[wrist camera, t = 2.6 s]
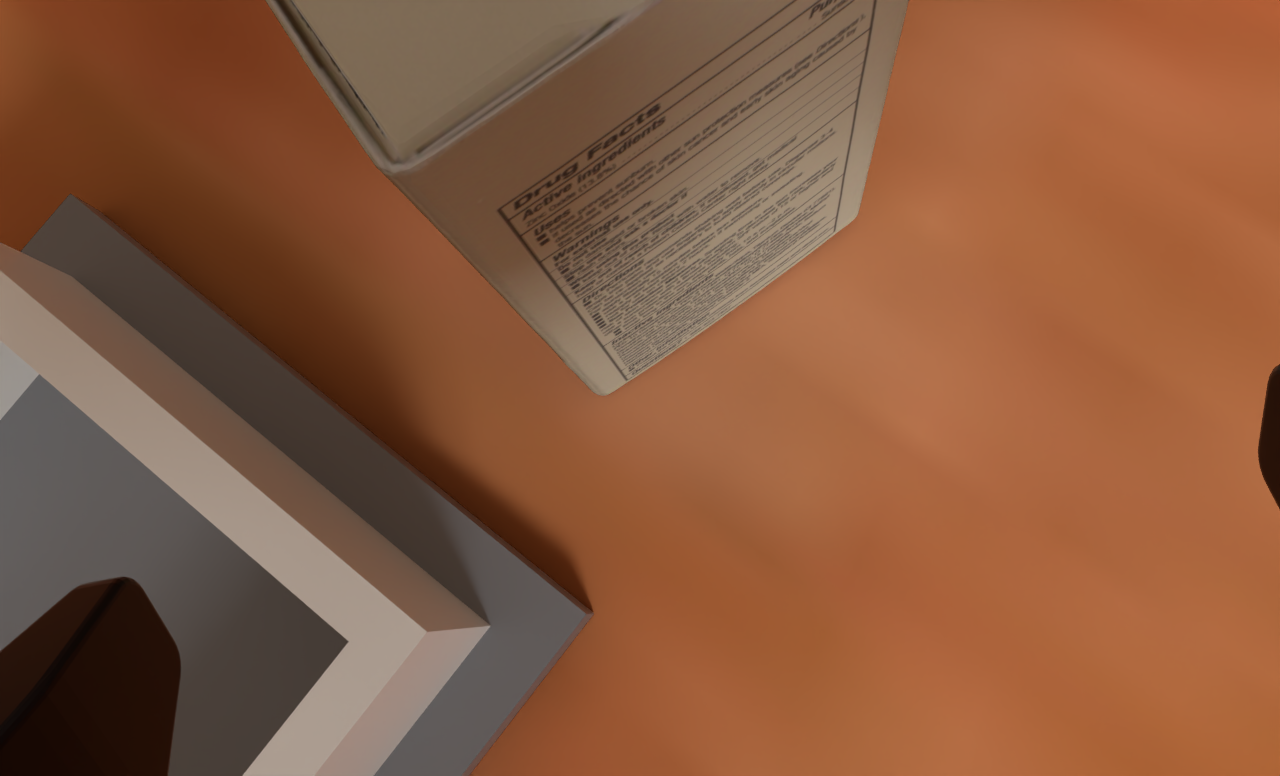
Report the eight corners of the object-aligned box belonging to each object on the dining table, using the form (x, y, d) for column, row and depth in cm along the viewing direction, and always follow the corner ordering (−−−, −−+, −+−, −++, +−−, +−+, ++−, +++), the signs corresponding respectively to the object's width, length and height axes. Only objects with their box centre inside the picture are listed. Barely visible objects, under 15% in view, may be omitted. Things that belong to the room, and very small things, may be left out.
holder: (127, 1218, 20) (-81, 1423, 15) (-343, 727, 22) (-656, 764, 17) (594, 613, 21) (545, 617, 16) (99, 211, 23) (-76, 105, 18)
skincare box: (732, 53, 22) (714, -572, 10) (865, 222, 22) (1010, -250, 10) (464, 237, 22) (135, -184, 10) (588, 416, 21) (383, 181, 9)
